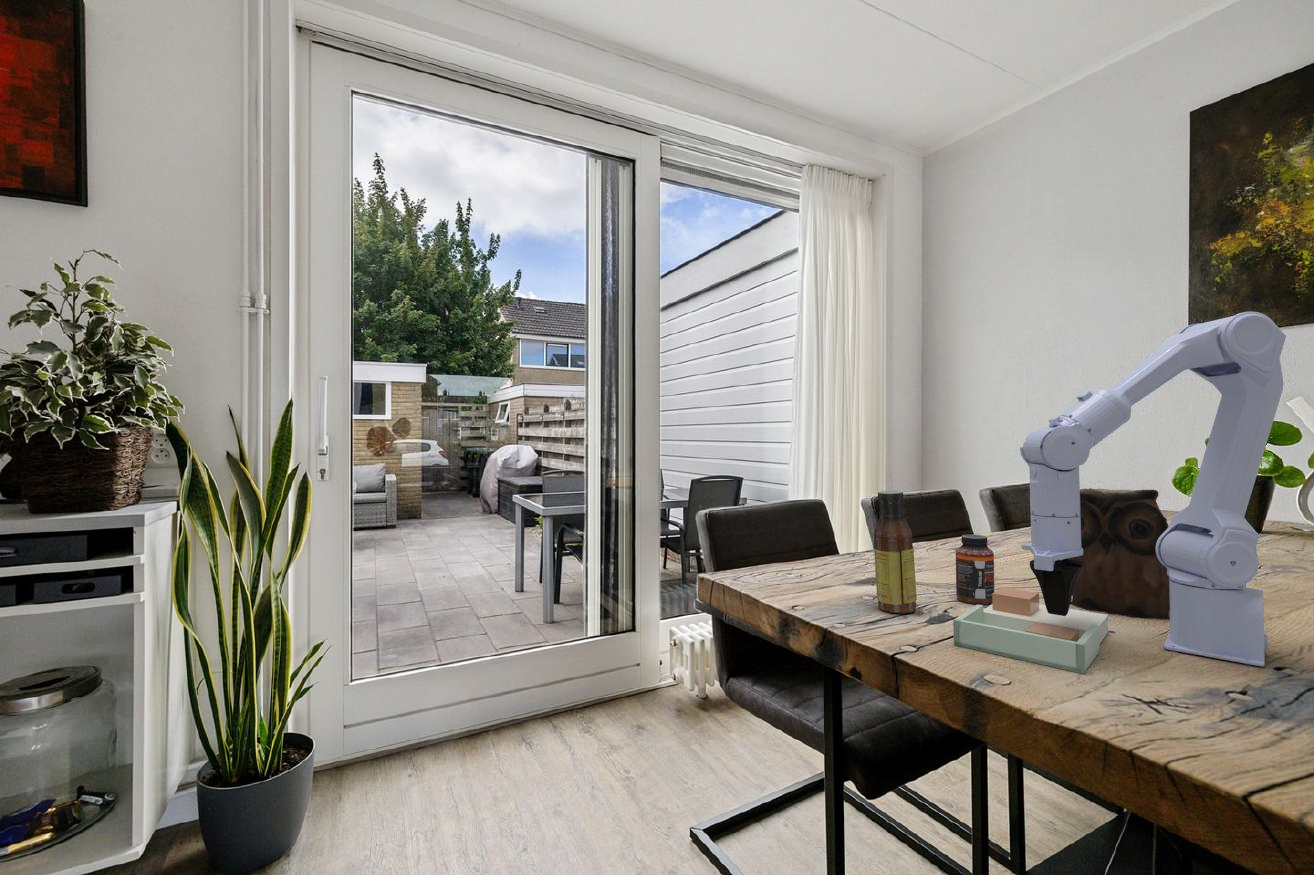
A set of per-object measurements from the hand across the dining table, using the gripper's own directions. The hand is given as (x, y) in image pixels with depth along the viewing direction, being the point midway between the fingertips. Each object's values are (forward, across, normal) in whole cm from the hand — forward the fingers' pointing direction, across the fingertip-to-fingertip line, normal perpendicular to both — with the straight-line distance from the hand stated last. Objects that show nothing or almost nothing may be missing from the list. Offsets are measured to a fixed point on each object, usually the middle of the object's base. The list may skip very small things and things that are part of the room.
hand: (1057, 613), depth 82 cm
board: (+4, -6, -3) cm, 8 cm away
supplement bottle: (+5, -16, -16) cm, 23 cm away
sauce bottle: (+5, -2, -24) cm, 24 cm away
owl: (+5, -27, +4) cm, 28 cm away
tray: (+4, +4, -3) cm, 7 cm away
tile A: (+4, +3, 0) cm, 5 cm away
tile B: (+2, -6, -7) cm, 9 cm away
